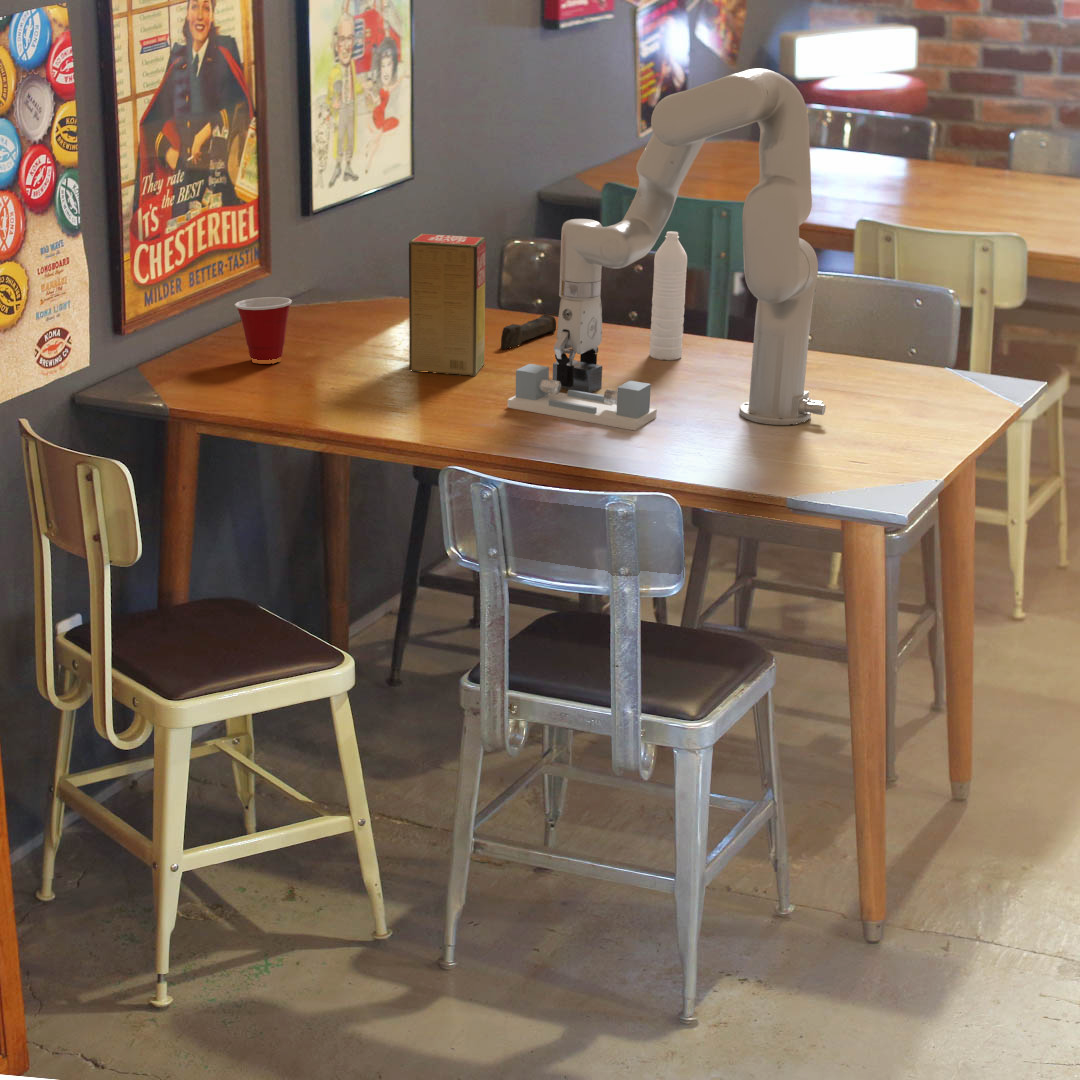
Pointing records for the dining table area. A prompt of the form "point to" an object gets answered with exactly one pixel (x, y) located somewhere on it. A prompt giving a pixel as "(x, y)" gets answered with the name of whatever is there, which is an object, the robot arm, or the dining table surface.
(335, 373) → the dining table surface
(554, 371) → the block
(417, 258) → the food packaging
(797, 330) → the robot arm
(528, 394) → the shaft stand
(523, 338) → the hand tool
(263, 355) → the plastic cup
